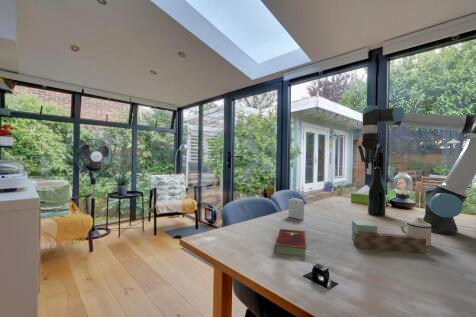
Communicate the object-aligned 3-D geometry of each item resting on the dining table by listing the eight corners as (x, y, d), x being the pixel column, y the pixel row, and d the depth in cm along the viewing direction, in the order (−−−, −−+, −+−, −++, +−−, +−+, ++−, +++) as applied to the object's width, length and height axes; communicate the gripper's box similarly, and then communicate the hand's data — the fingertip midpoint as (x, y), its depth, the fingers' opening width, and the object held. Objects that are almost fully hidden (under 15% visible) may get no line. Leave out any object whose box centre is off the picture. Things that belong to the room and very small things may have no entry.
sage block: (370, 240, 106) (370, 221, 106) (377, 247, 99) (377, 226, 99) (351, 239, 108) (352, 220, 108) (356, 245, 100) (357, 224, 100)
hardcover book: (274, 254, 90) (274, 243, 90) (279, 236, 110) (279, 228, 110) (306, 258, 87) (306, 247, 87) (305, 239, 107) (305, 230, 107)
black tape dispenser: (296, 276, 73) (297, 262, 73) (310, 270, 78) (310, 256, 78) (333, 295, 64) (333, 279, 64) (346, 287, 68) (346, 271, 68)
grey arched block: (287, 216, 147) (287, 197, 147) (291, 215, 150) (291, 197, 150) (300, 220, 139) (301, 200, 139) (304, 219, 142) (305, 199, 142)
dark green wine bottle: (368, 212, 165) (369, 166, 165) (385, 214, 159) (386, 167, 159) (366, 214, 156) (367, 166, 156) (384, 217, 150) (386, 167, 150)
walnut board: (421, 250, 95) (421, 236, 95) (425, 253, 92) (426, 238, 92) (353, 244, 100) (354, 231, 100) (355, 247, 98) (356, 233, 98)
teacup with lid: (435, 245, 102) (436, 219, 102) (424, 248, 98) (425, 221, 98) (406, 236, 113) (406, 213, 113) (395, 239, 109) (395, 214, 109)
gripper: (379, 133, 134) (378, 174, 134) (355, 134, 136) (354, 173, 136) (385, 132, 126) (384, 175, 126) (359, 132, 129) (358, 174, 129)
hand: (369, 174), depth 131 cm, fingers closed
